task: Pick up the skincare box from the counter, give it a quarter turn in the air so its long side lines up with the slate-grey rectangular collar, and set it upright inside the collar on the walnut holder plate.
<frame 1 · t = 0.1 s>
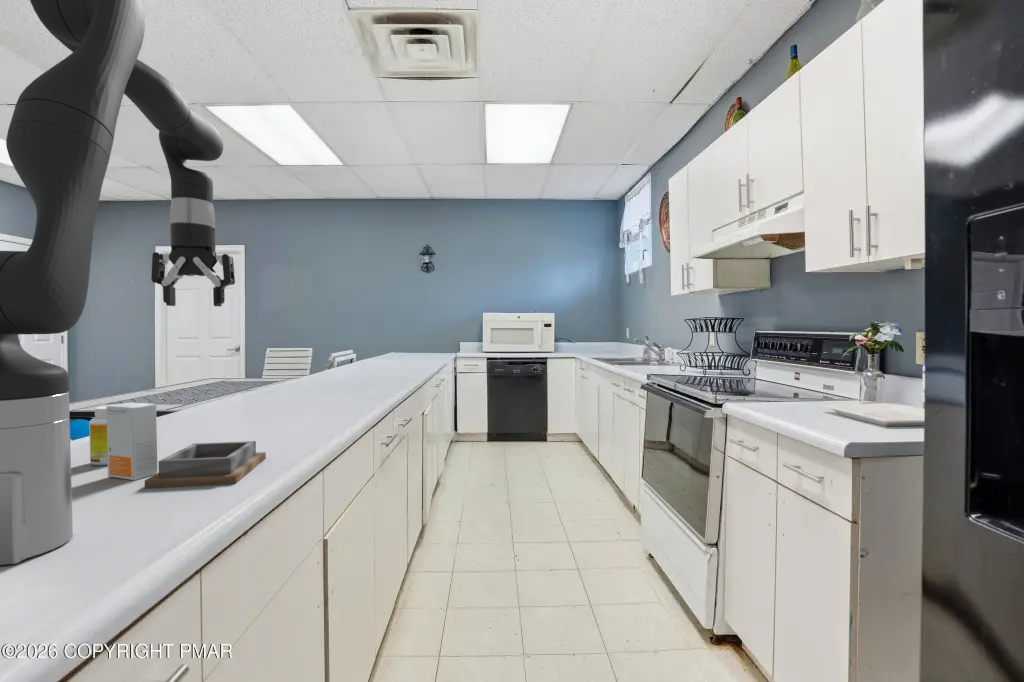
hand: (194, 306, 98), 29 cm above the countertop, tool pointing down, fingers open, 8 cm apart
supplement bottle: (110, 463, 91), on the countertop
skincare box: (133, 476, 82), on the countertop
holder: (211, 471, 84), on the countertop
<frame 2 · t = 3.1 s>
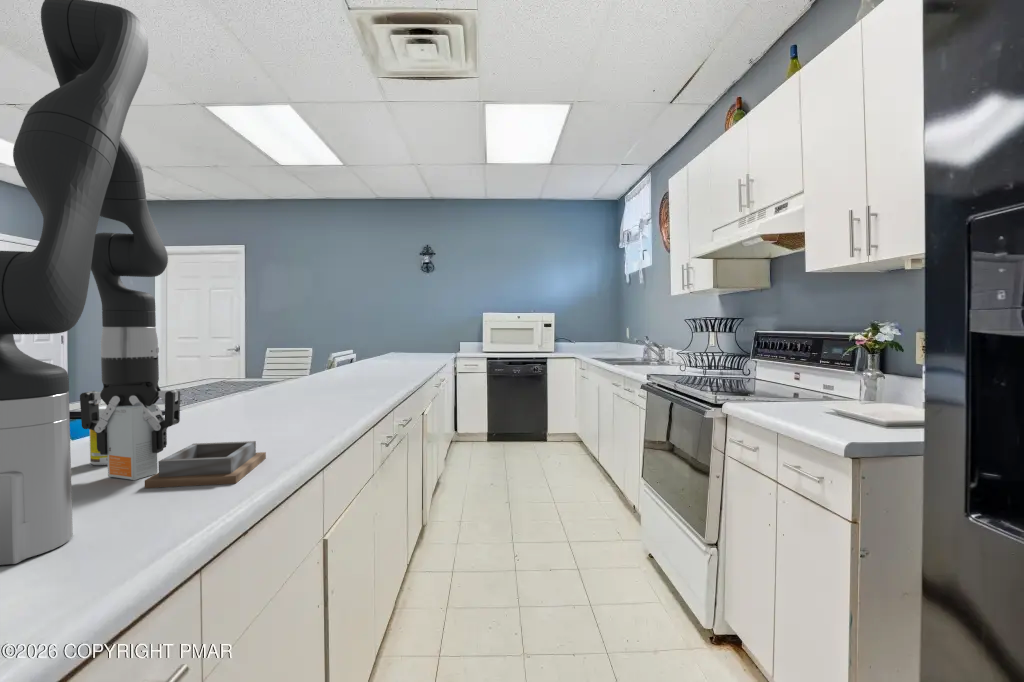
hand: (132, 452, 82), 4 cm above the countertop, tool pointing down, fingers closed on skincare box, 7 cm apart
skincare box: (133, 476, 82), on the countertop, touching gripper
everything else where it was.
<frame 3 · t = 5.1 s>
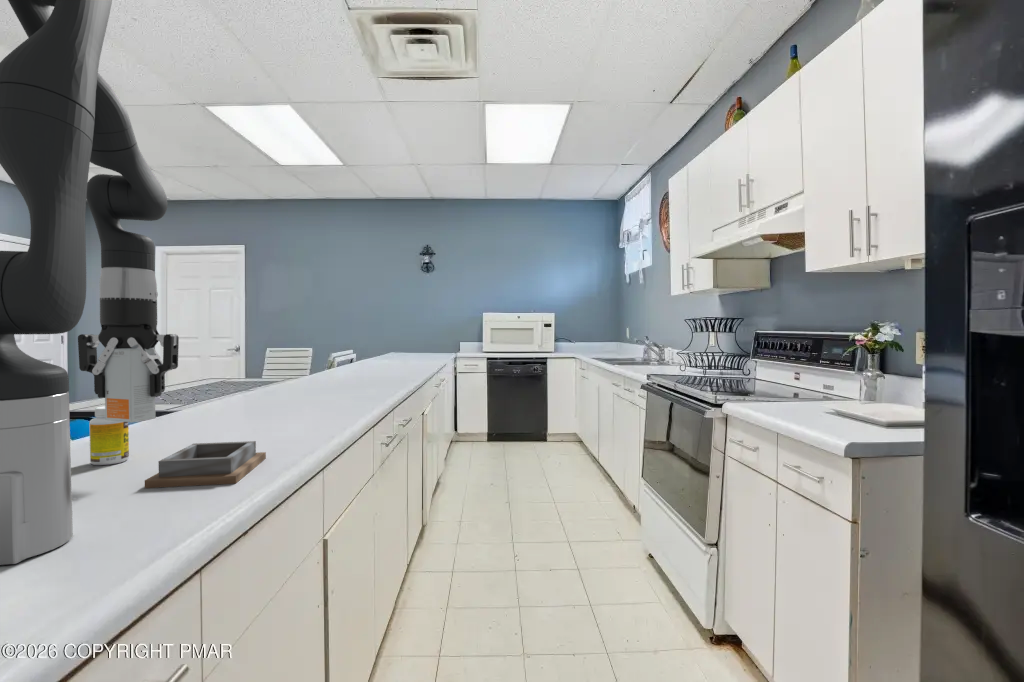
hand: (130, 396, 82), 13 cm above the countertop, tool pointing down, fingers closed on skincare box, 7 cm apart
skincare box: (130, 421, 82), point 9 cm above the countertop, touching gripper
everything else where it was.
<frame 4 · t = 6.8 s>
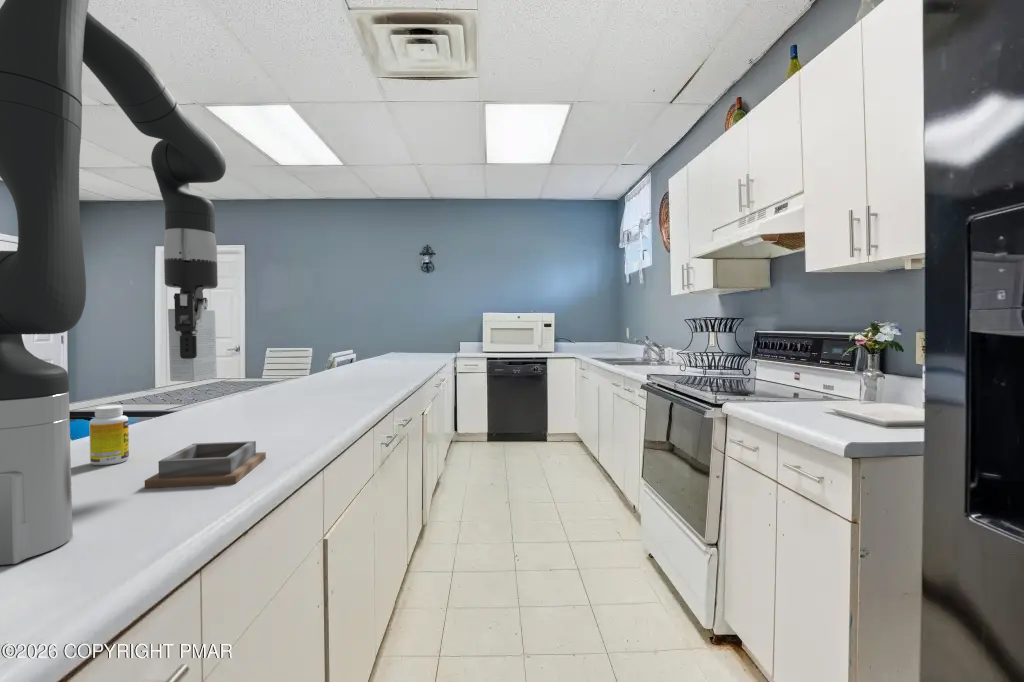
hand: (193, 356, 83), 20 cm above the countertop, tool pointing down, fingers closed on skincare box, 7 cm apart
skincare box: (193, 380, 84), point 16 cm above the countertop, touching gripper
everything else where it was.
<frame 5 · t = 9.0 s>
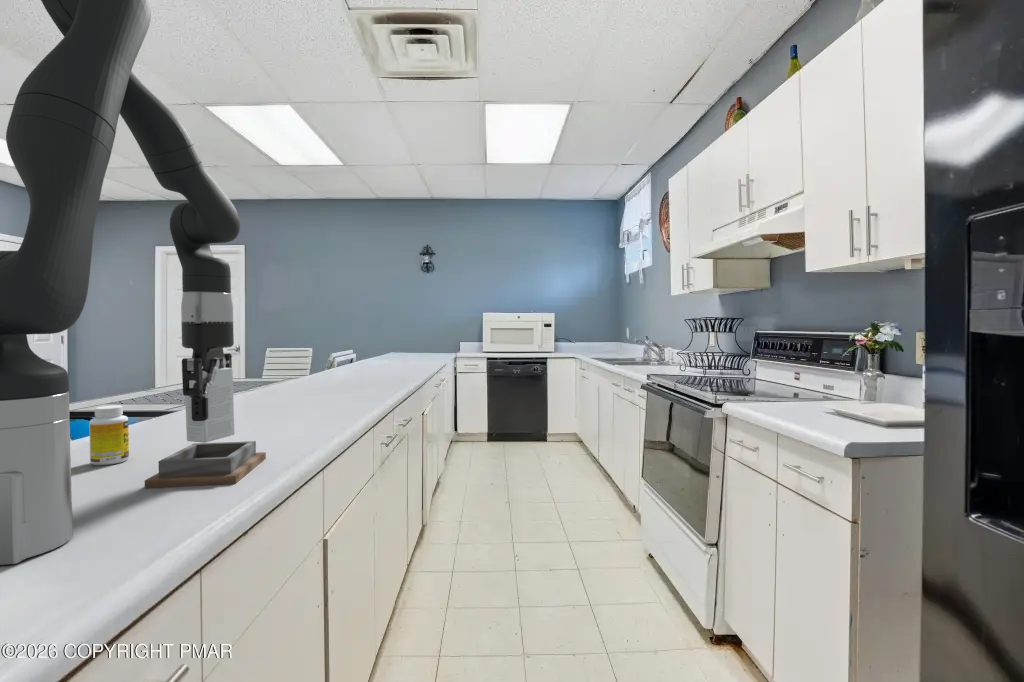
hand: (209, 415, 84), 10 cm above the countertop, tool pointing down, fingers closed on skincare box, 7 cm apart
skincare box: (210, 439, 84), point 6 cm above the countertop, touching gripper
everything else where it was.
when the fingers open (6 cm above the countertop, at t = 10.8 s): skincare box stays where it is, resting on holder.
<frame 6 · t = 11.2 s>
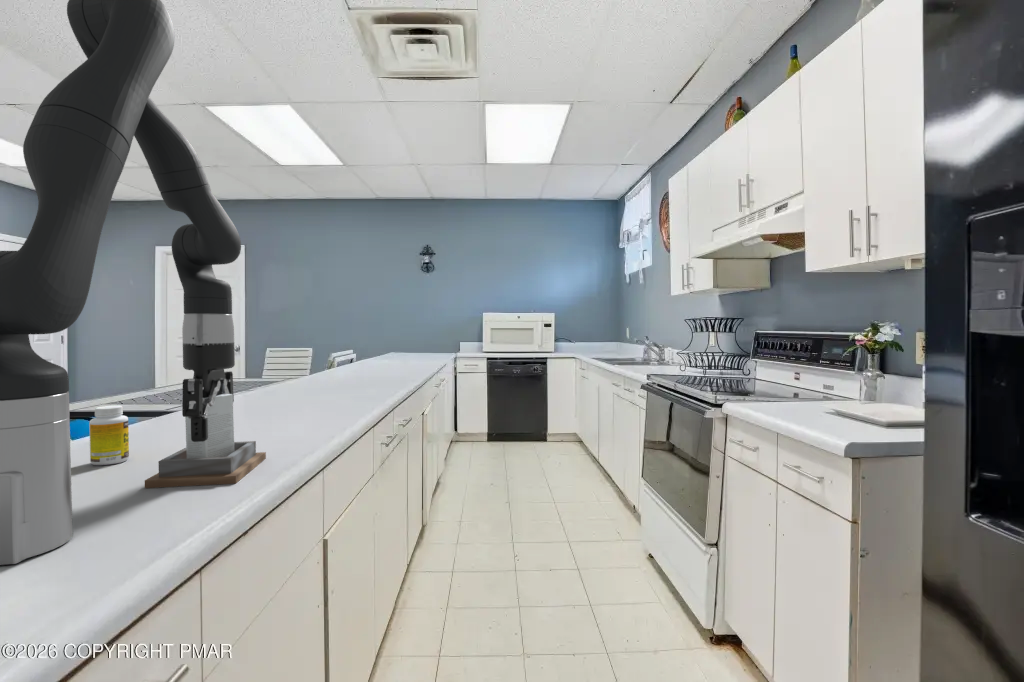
hand: (210, 435, 84), 6 cm above the countertop, tool pointing down, fingers open, 8 cm apart
skincare box: (210, 466, 84), point 1 cm above the countertop, touching holder
everything else where it was.
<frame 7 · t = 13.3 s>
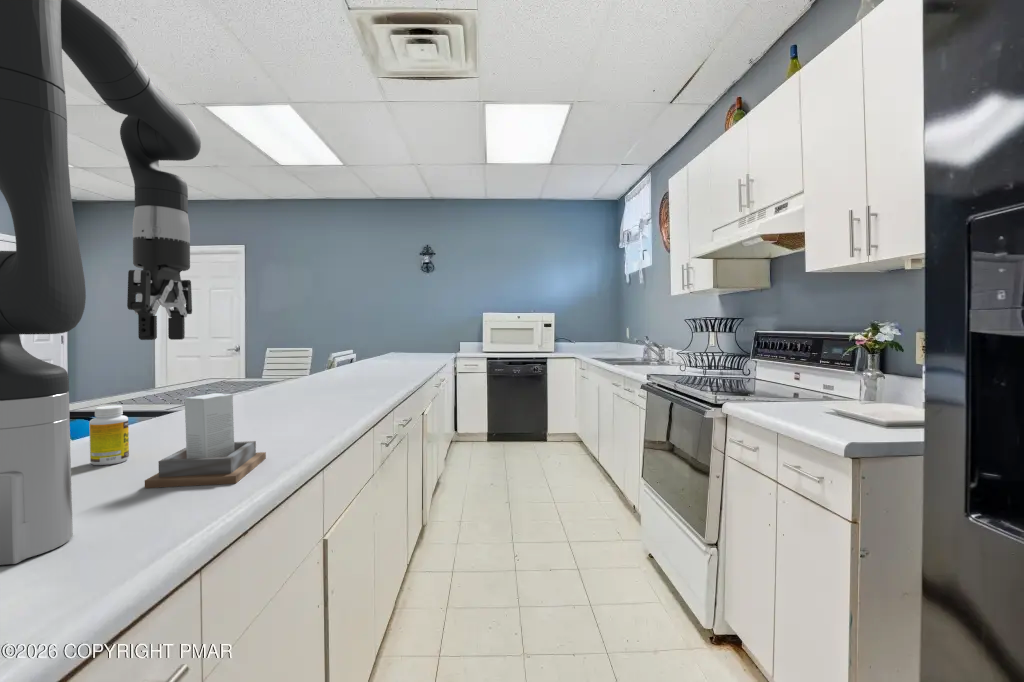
hand: (162, 339, 79), 23 cm above the countertop, tool pointing down, fingers open, 8 cm apart
nothing on the countertop moved.
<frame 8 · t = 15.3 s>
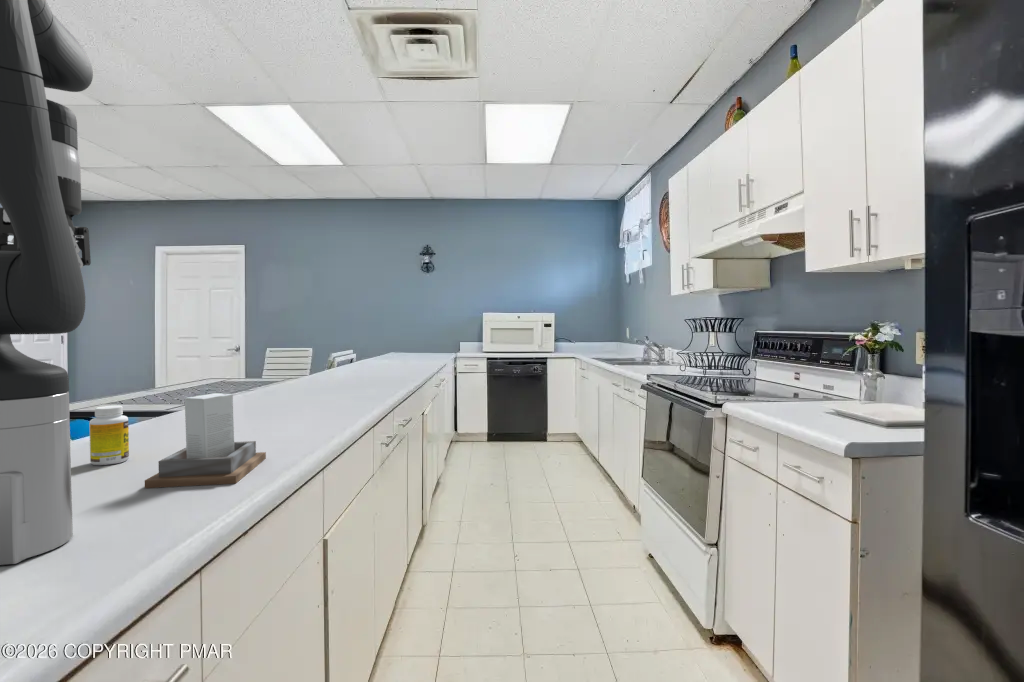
hand: (49, 290, 71), 30 cm above the countertop, tool pointing down, fingers open, 8 cm apart
nothing on the countertop moved.
at the end: skincare box 0.2 cm off-centre on the holder, point 1.0 cm above the holder's base; skincare box tilted 0°; the gripper is holding nothing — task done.
